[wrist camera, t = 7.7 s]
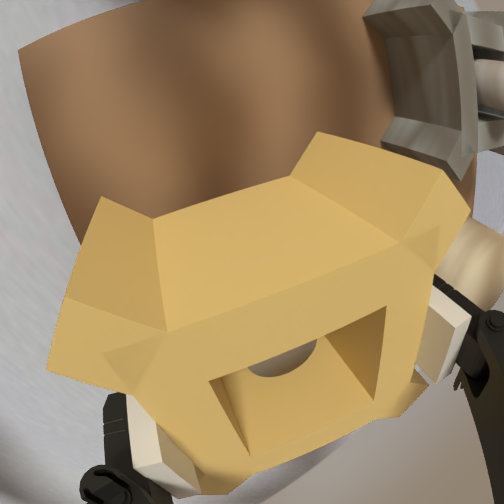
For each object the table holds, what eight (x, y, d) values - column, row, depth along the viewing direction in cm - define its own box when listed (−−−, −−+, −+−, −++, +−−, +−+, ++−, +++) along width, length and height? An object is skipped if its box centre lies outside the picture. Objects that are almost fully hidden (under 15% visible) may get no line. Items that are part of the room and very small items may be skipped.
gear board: (155, 359, 18) (176, 473, 12) (33, 55, 9) (-63, 25, 3) (450, 237, 23) (523, 284, 16) (441, 9, 14) (540, 9, 7)
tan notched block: (171, 400, 15) (195, 502, 10) (65, 210, 10) (7, 317, 4) (357, 327, 17) (422, 401, 12) (347, 125, 11) (474, 160, 6)
